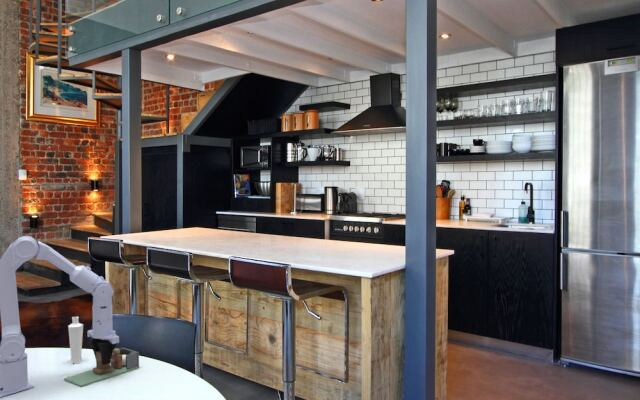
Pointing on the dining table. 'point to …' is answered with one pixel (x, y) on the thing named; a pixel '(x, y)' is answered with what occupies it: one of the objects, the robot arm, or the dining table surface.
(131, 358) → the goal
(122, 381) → the dining table surface
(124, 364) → the ball
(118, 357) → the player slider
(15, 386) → the robot arm
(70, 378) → the pitch mat
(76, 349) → the perfume bottle
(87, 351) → the dining table surface
